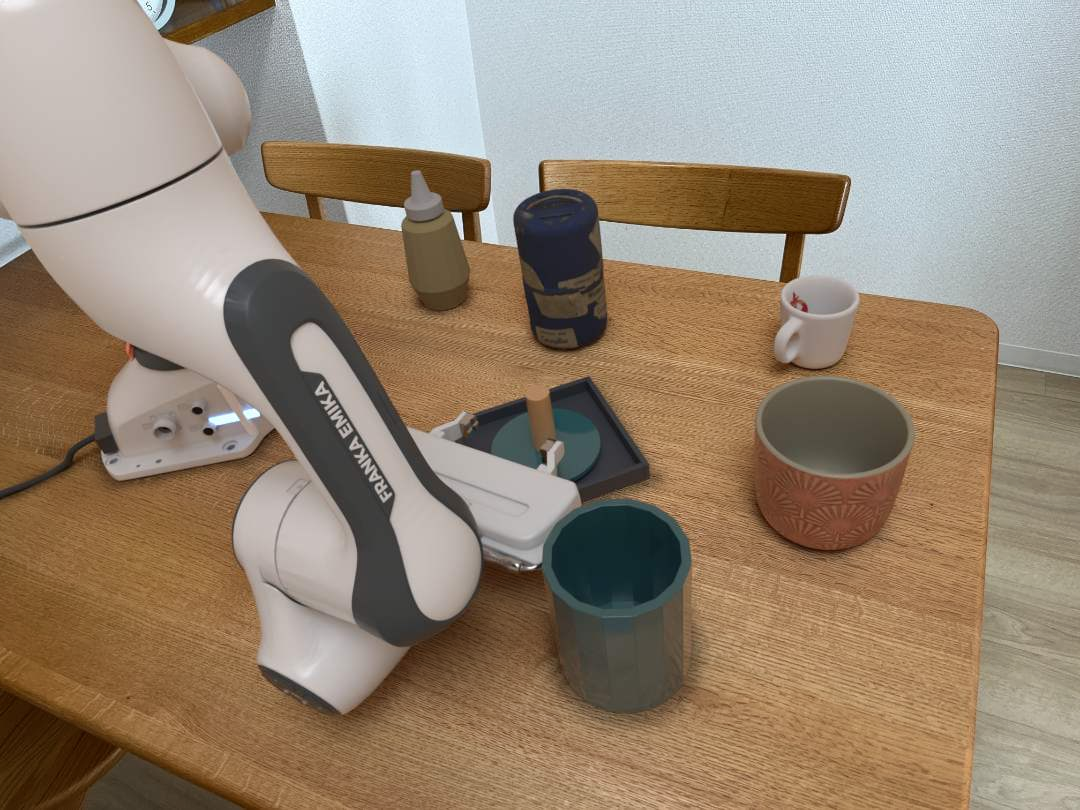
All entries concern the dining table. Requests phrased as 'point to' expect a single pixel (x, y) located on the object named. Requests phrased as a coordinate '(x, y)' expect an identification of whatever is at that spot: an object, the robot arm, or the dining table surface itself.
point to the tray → (618, 450)
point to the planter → (829, 459)
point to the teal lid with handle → (548, 436)
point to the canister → (562, 267)
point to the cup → (815, 321)
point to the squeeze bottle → (433, 249)
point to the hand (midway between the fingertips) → (513, 431)
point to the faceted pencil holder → (620, 603)
